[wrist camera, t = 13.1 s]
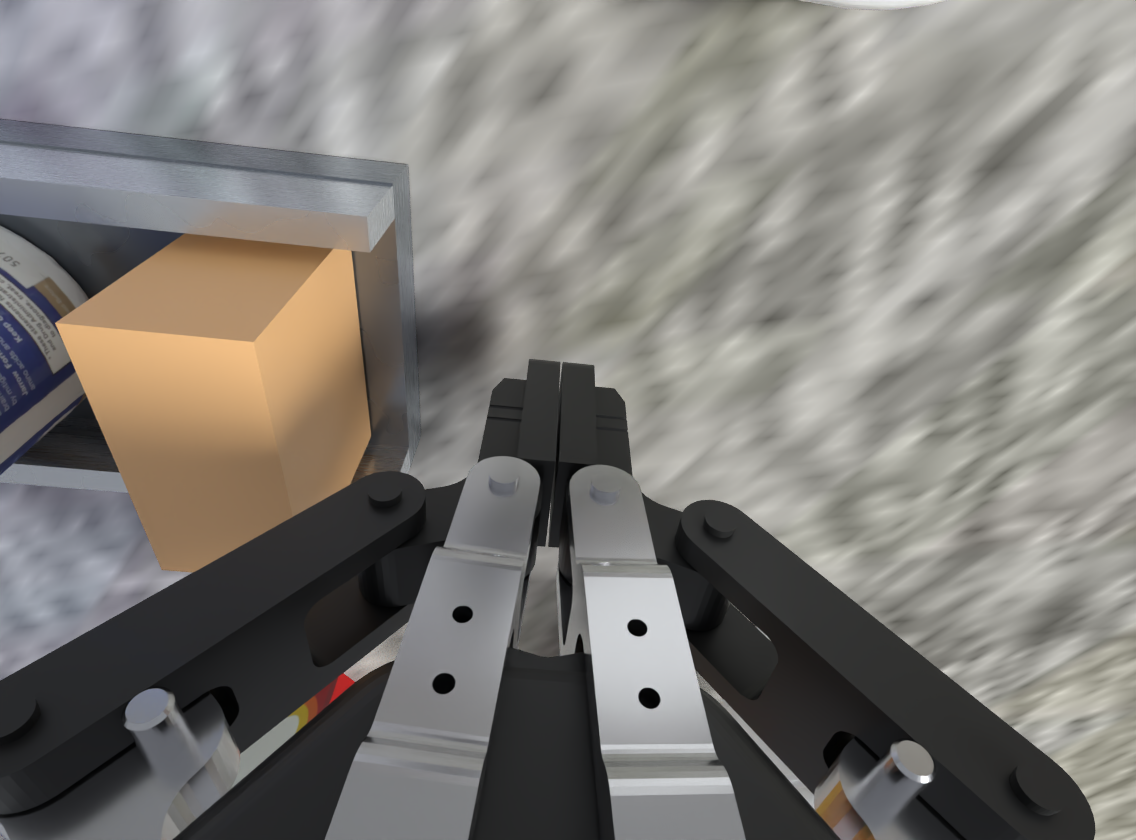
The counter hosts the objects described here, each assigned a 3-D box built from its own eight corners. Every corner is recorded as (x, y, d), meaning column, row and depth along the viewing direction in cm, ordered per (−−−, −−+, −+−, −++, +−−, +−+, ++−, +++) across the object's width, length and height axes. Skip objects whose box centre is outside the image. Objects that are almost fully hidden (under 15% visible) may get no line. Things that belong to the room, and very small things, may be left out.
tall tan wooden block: (349, 230, 14) (253, 341, 10) (371, 435, 17) (307, 581, 13) (210, 216, 14) (55, 322, 10) (260, 425, 17) (161, 569, 13)
